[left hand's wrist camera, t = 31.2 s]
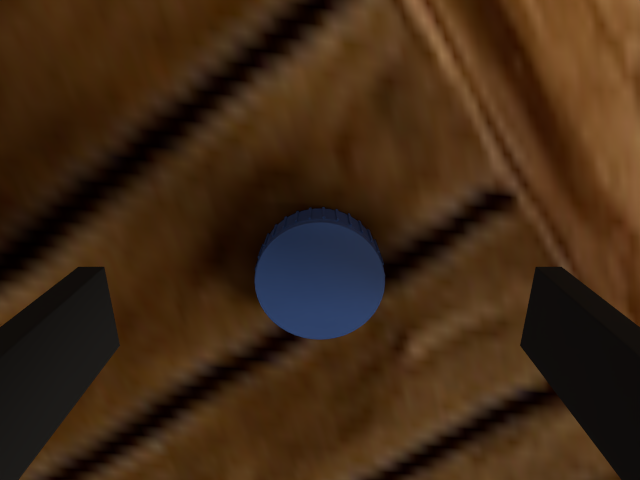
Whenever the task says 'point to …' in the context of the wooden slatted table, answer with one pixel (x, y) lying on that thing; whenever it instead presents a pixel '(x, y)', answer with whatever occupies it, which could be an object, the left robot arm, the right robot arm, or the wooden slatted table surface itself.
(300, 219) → the cap
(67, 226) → the wooden slatted table surface
